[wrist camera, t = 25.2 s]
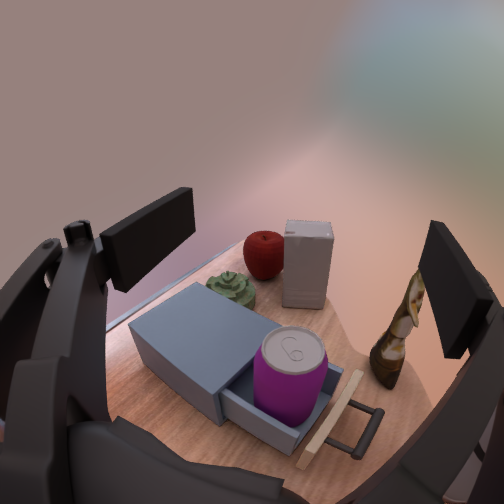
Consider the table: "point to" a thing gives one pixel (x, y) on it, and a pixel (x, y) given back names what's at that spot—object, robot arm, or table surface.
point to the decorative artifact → (234, 288)
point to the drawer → (287, 439)
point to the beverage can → (289, 374)
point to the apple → (264, 254)
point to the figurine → (397, 335)
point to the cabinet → (199, 344)
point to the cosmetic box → (306, 263)
